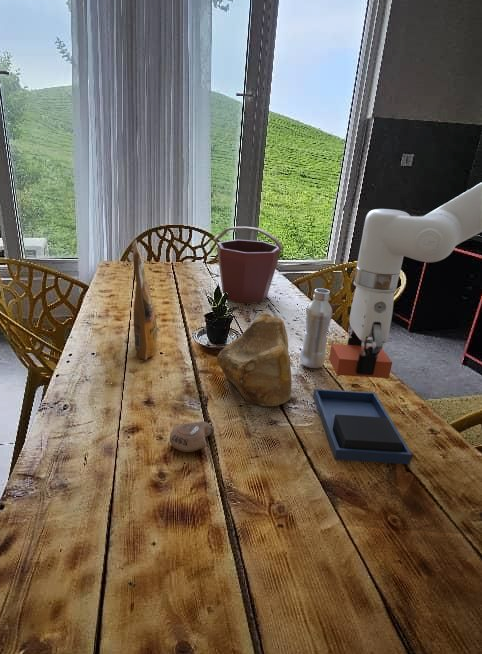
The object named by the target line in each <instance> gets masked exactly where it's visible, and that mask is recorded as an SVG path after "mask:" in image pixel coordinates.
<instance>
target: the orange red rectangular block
mask: <svg viewBox="0 0 482 654" xmlns="http://www.w3.org/2000/svg"><path fill="white" fill-rule="evenodd" d="M371 346H372V345H367V348H368V347H371ZM367 348H366V349H367ZM361 352H362V346H358V345H347V344H341V343H331V345H330V351H329V357H328V360H329V362H330V363H331V366H332V368H333V370H334V372H335V374H336V376H345V377H346V376H347V377H348V376H349V377H359V378H360V377H361V378H375V379H389V378H390V375H391V371H392V366H393V361H392V359H390V356H388V354H387V353H386V352H385V351H384V349H383V348H382V349H381V350H380V352H379V354H378V357H377V360H376V364H375V369H374V373H373V375H362V374H357V373H356V368H357V363H358V358H359V354H361Z"/></svg>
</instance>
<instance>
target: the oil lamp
mask: <svg viewBox="0 0 482 654" xmlns="http://www.w3.org/2000/svg"><path fill="white" fill-rule="evenodd" d="M214 432H215V429H214V427H213V426H212V425H211V424H210V423H209V422H207V421H204V420H202V421H196V422H186V423H180V424H178V425H175V426H173V427H172V430H171V432H170V434H169V443H170V445H171V446H172V447H173V448H174V449H175V450H178V451H180V452H184V453H192V452H197V451H199V450H201V449H204V448H206V447H207V446H208V445H207V441H206V437H207V438H208V437H210V436H211V435H212V434H213V433H214Z"/></svg>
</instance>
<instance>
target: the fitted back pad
mask: <svg viewBox="0 0 482 654" xmlns="http://www.w3.org/2000/svg"><path fill="white" fill-rule="evenodd" d="M333 432H334V434H335V437H336V440H337V442H338V445H339V448H345V449H360V450H376V451H391V452H400V451H401V447H402V442H401V440H400V438H399V437H398V435H397V433H396V431H395V430H394V428H393V426H392V425H391V423H390V421H389V420H388V418H385V417H369V416H353V415H337V414H335V419H334V424H333Z"/></svg>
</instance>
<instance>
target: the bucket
mask: <svg viewBox="0 0 482 654" xmlns="http://www.w3.org/2000/svg"><path fill="white" fill-rule="evenodd" d="M234 230H248V231H249V230H250V231H255V232H258V233H260V234H261V235H264V236H265V237H267V238H268V239H270V240H271V241H273V243H274V244H273V243H270V242H266V241H263V240H262V241H261V240H249V239H231V240H230V239H229V240H225V241H218V240H220V239H221V238H223V237H224V236H225V235H226V234H227V233H228V232H230V231H234ZM213 240H214V243H215V245H216V246H217V249H216V251H217V260H218V268H219V275H220V282H221V283H220V284H221V291H223V292H222V294H223V293H226V292H227V293H228V299H227V300H229V301H233V302H237V303H241V304H251V303H263V302H264V300H266V299H267V298H268V294H269V291H270V290H271V289H270V287H271V285H272V282H273V278H274V276H275V271H276V269H277V267H278V262H279V258H280V253H281V251H282V250H283V248H284V247H283V245H282V243H281V242H280V241H279V239H278V238H277V237H275V236H274V235H273V234H271V233H269V232H268V231H266V230H265V229H262V228H259V227H254V226H231V227H227V228H224V229H223V231H221V233H219V235H215V237H213Z"/></svg>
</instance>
